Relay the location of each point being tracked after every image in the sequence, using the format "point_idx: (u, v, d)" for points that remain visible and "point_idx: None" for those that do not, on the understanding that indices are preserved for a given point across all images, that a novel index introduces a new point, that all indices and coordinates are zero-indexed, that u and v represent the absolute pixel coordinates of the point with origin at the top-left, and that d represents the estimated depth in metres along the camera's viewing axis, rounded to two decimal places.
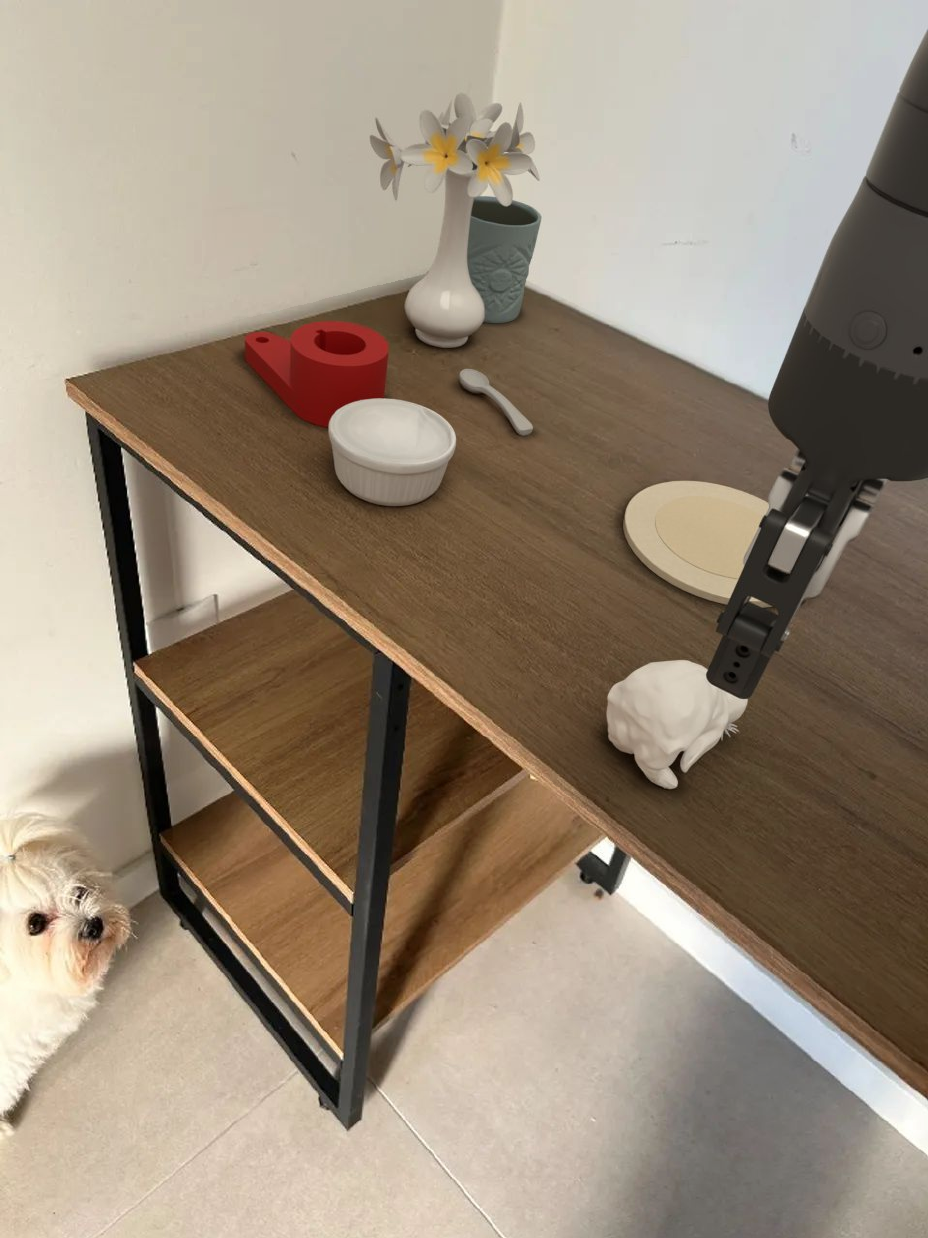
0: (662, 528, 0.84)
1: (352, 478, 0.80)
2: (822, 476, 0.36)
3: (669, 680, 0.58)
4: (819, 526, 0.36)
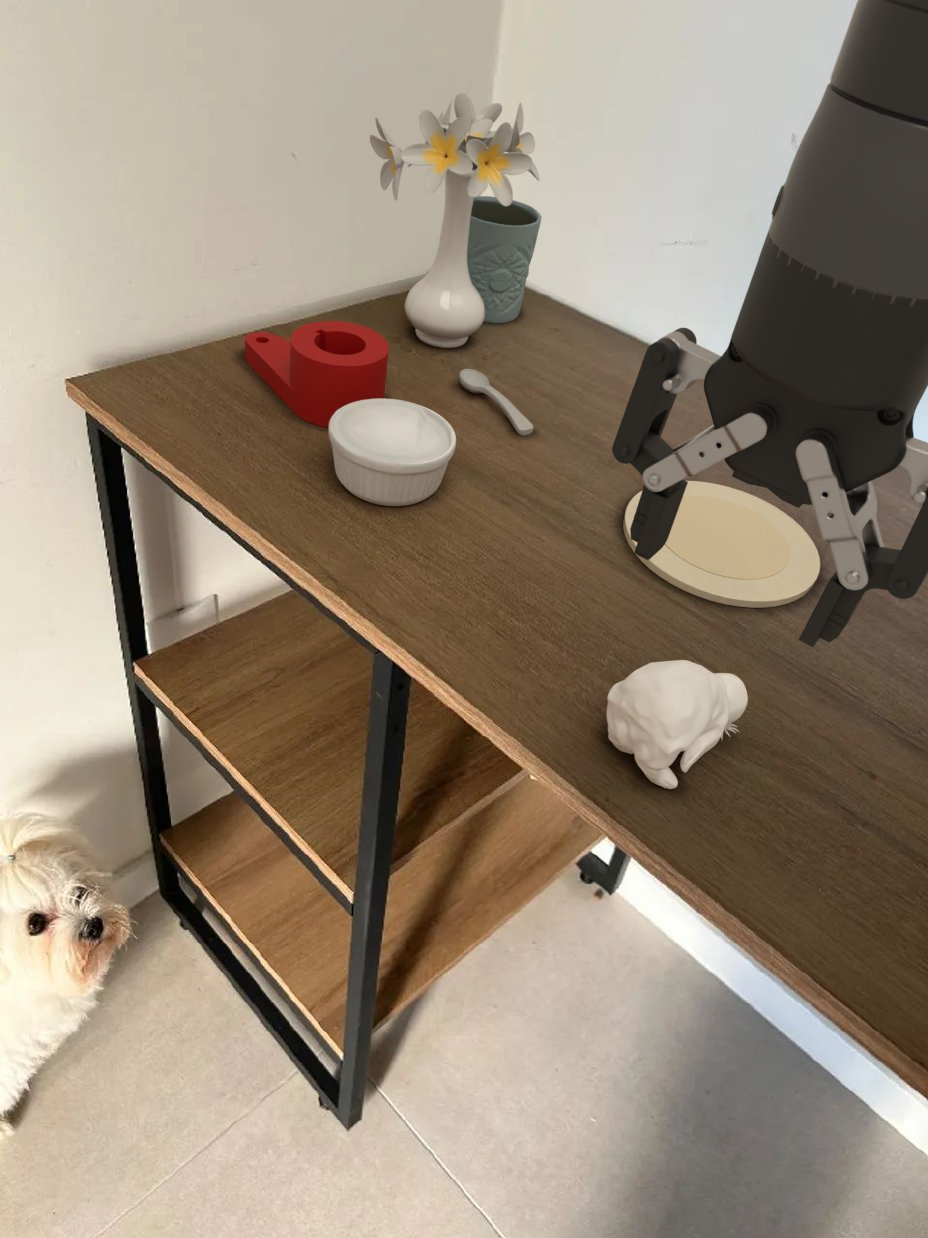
0: None
1: (352, 478, 0.80)
2: (911, 414, 0.35)
3: (669, 680, 0.58)
4: None
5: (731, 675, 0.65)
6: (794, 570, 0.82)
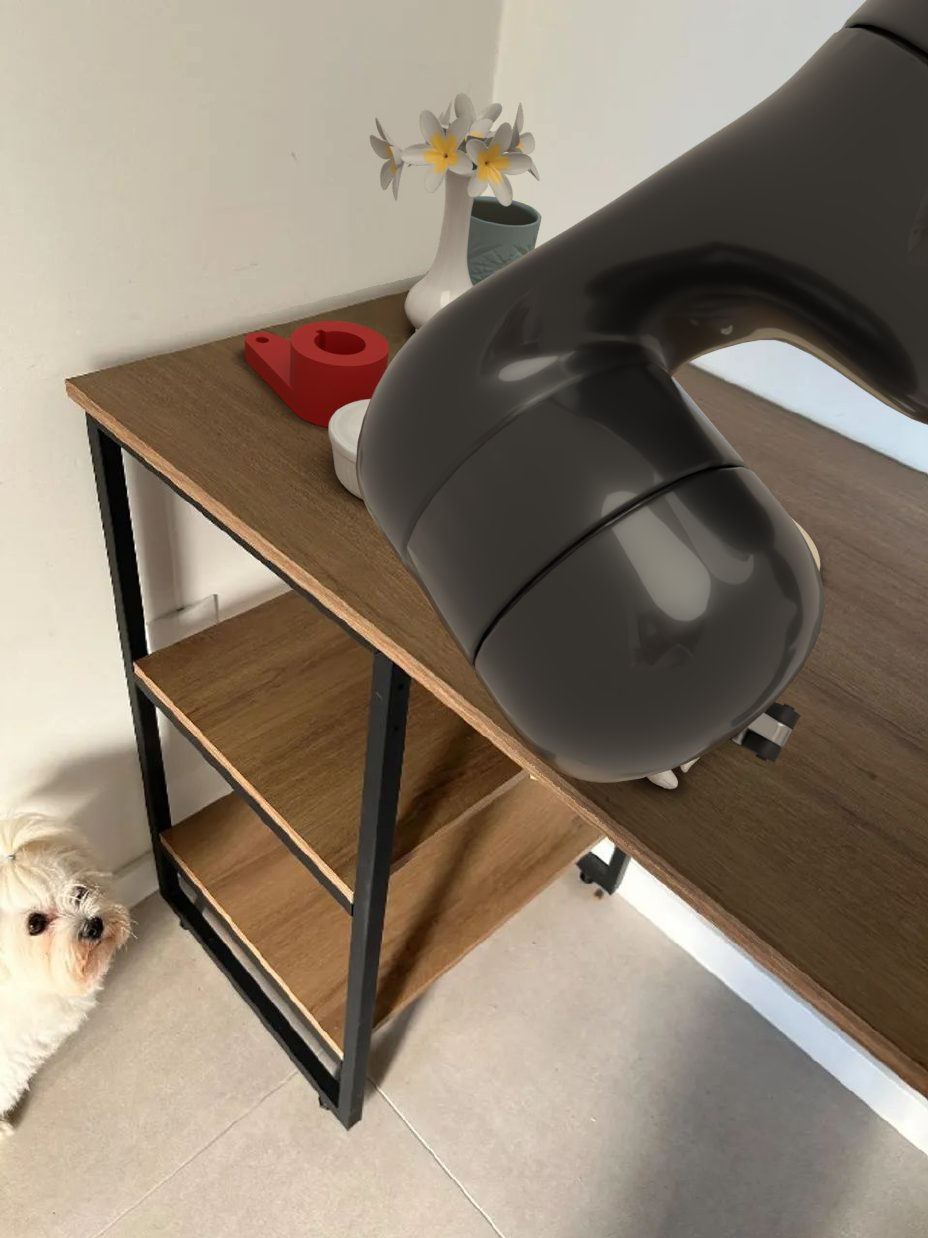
0: None
1: (352, 478, 0.80)
2: None
3: None
4: None
5: None
6: None
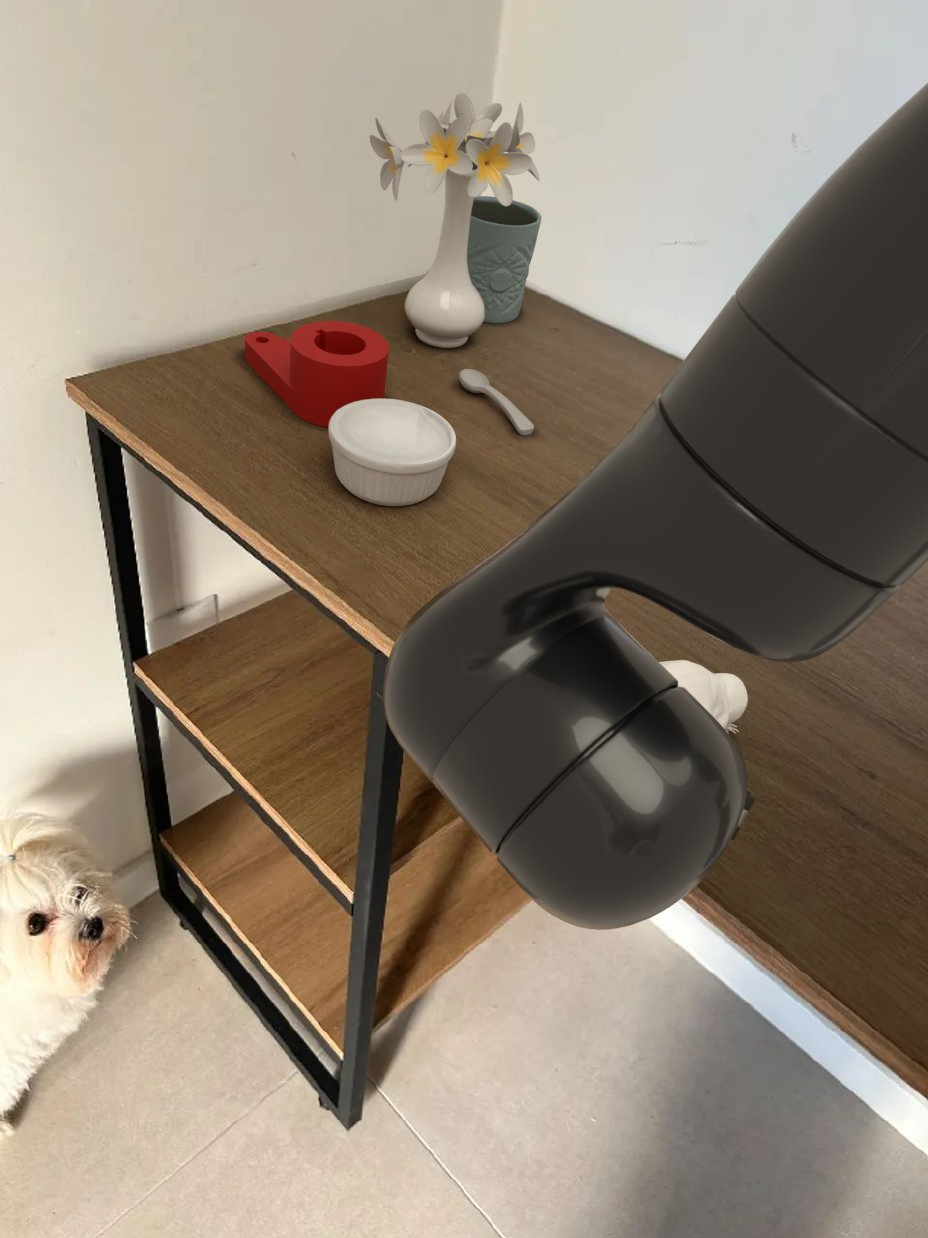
0: None
1: (352, 478, 0.80)
2: None
3: None
4: None
5: (731, 675, 0.65)
6: None
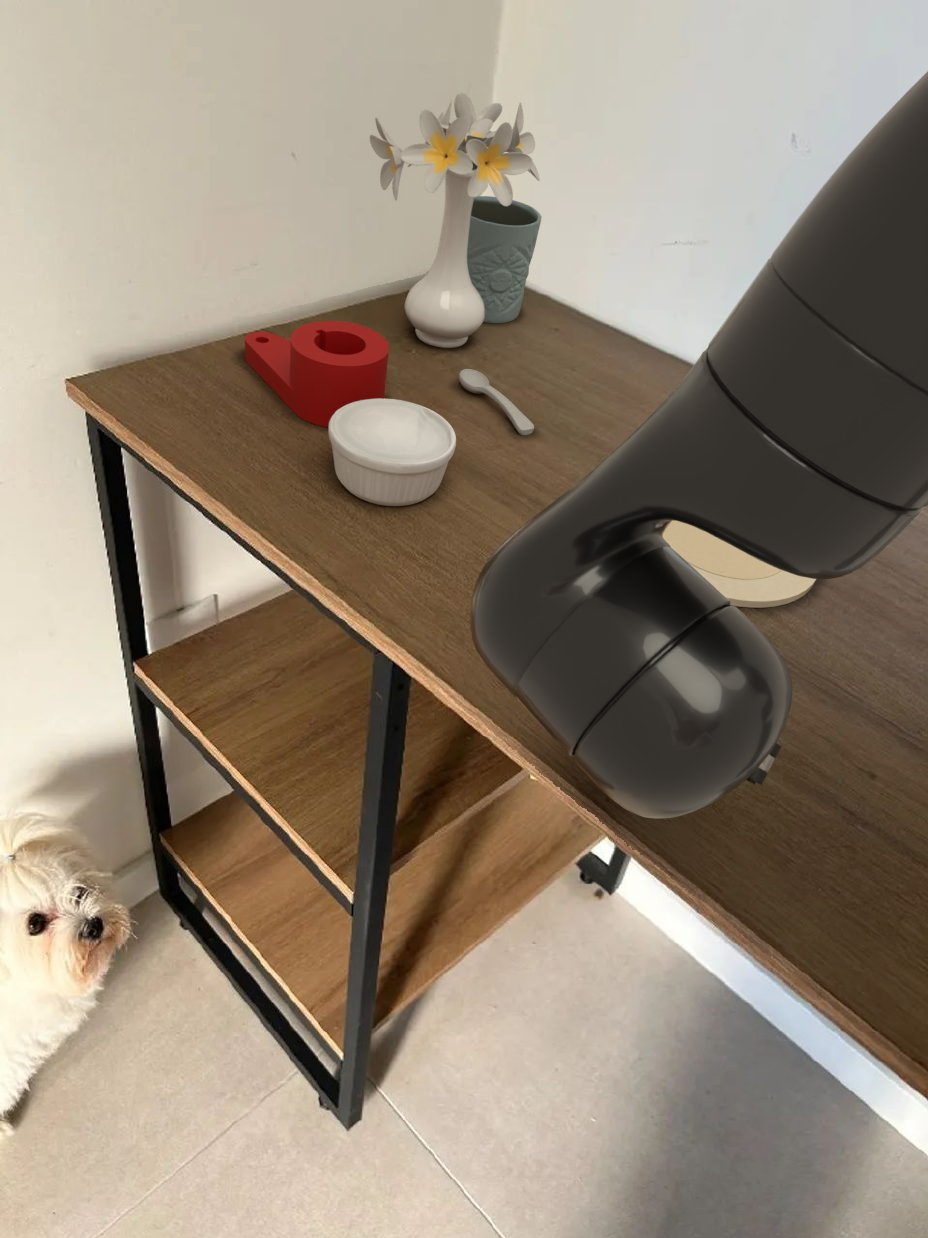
0: None
1: (352, 478, 0.80)
2: None
3: None
4: None
5: None
6: None
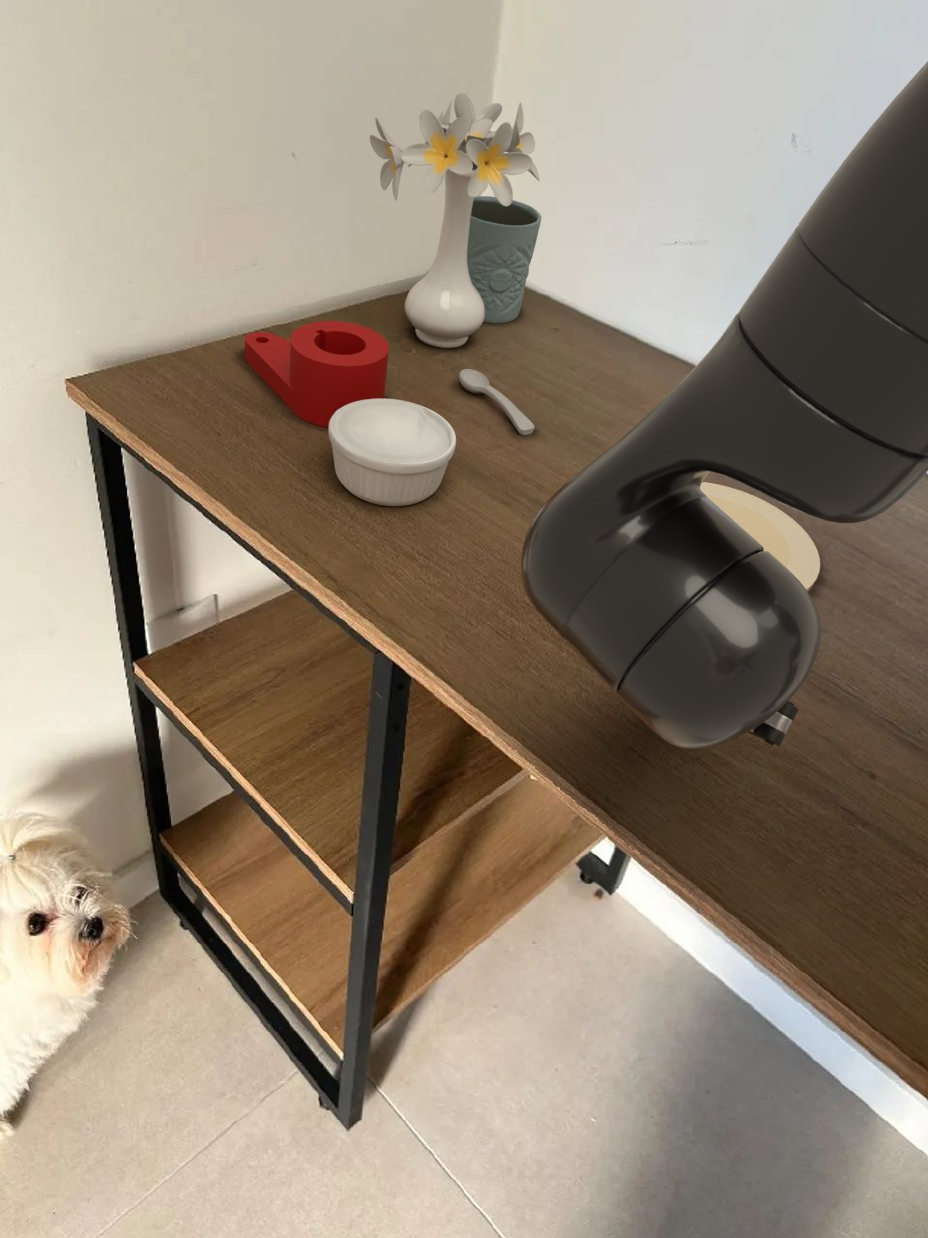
0: None
1: (352, 478, 0.80)
2: None
3: None
4: None
5: None
6: (794, 570, 0.82)
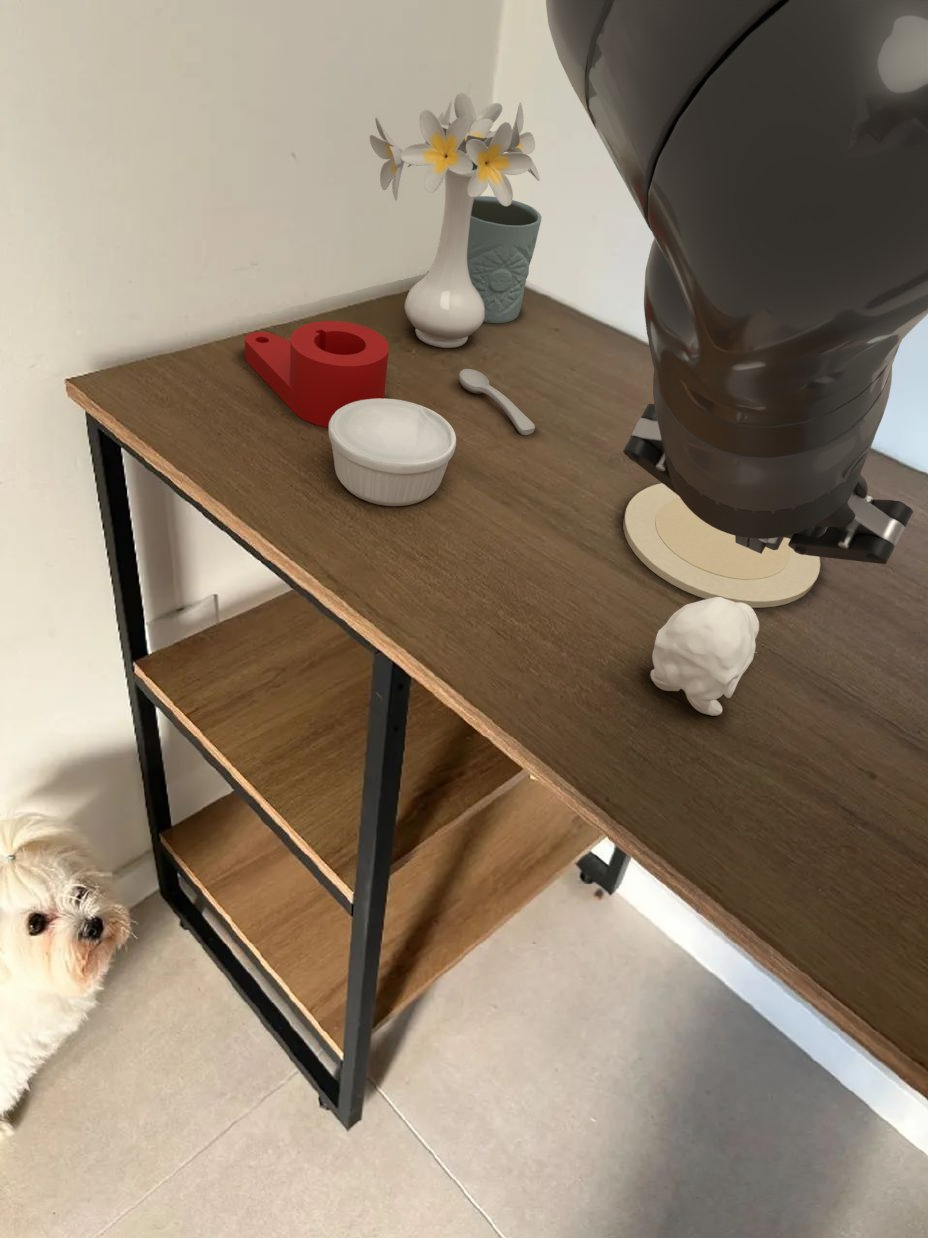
0: (662, 528, 0.84)
1: (352, 478, 0.80)
2: (851, 494, 0.36)
3: (716, 617, 0.63)
4: (865, 495, 0.38)
5: (742, 603, 0.71)
6: (794, 570, 0.82)
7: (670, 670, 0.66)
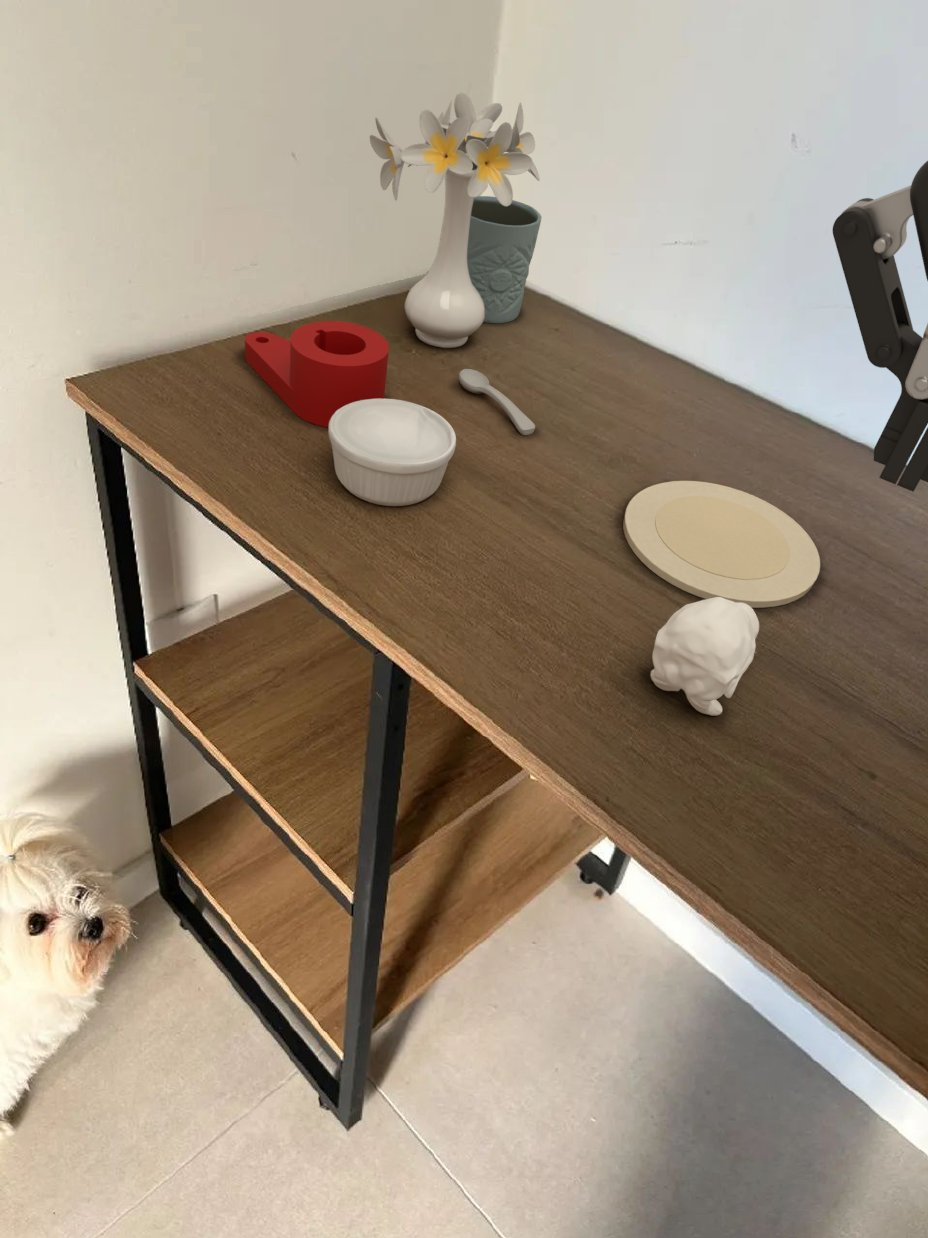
0: (662, 528, 0.84)
1: (352, 478, 0.80)
2: None
3: (716, 617, 0.63)
4: None
5: (742, 603, 0.71)
6: (794, 570, 0.82)
7: (670, 670, 0.66)
